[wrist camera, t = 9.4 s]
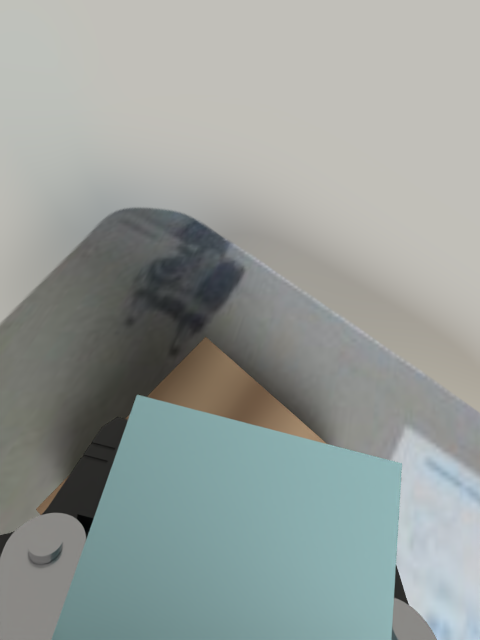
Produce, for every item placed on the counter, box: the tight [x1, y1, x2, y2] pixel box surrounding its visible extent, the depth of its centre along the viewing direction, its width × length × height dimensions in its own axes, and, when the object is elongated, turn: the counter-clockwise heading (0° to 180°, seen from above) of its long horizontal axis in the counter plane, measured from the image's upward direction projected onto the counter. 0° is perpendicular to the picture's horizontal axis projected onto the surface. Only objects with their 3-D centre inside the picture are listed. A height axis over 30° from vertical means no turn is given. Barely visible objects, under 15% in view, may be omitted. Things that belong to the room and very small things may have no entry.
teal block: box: [52, 395, 402, 640], centre depth 9 cm, size 4×4×9 cm
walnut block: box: [36, 337, 327, 514], centre depth 21 cm, size 12×12×5 cm
